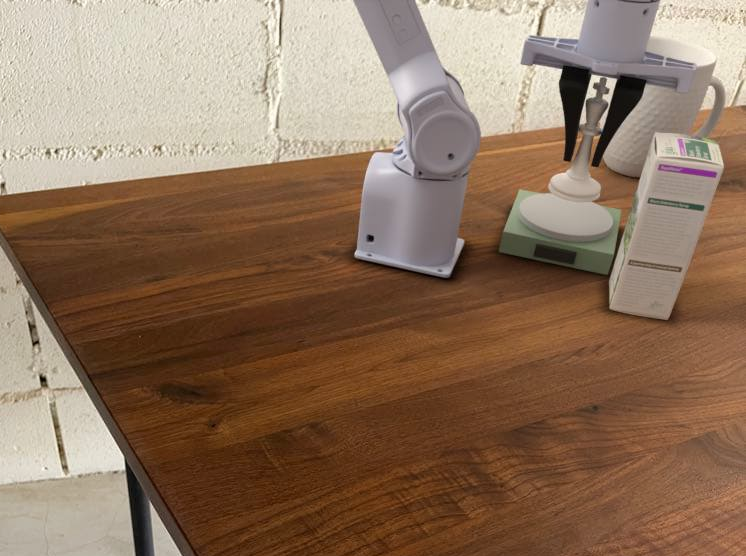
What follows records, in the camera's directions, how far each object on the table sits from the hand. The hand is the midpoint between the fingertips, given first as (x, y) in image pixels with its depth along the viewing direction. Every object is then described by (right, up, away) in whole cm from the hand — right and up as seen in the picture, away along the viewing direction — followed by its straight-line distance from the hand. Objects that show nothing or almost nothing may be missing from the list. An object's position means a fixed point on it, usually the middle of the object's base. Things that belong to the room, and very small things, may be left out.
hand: (581, 160), depth 82 cm
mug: (+14, +10, +26) cm, 31 cm away
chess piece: (0, -2, +2) cm, 3 cm away
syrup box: (+6, -13, +2) cm, 14 cm away
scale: (0, -4, +10) cm, 11 cm away
